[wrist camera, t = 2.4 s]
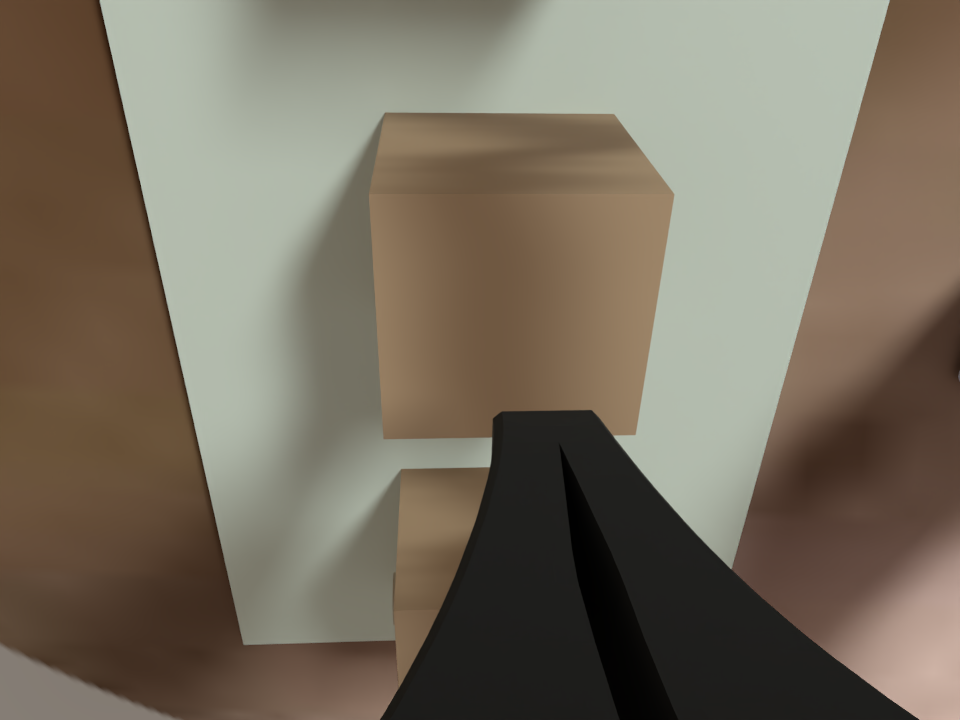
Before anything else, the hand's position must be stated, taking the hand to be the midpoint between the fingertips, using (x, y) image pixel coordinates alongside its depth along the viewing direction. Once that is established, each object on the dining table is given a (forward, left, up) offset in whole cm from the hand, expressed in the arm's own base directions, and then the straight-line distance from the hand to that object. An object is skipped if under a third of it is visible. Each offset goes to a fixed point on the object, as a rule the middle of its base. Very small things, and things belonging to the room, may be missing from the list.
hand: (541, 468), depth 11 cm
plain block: (0, 0, -9) cm, 9 cm away
